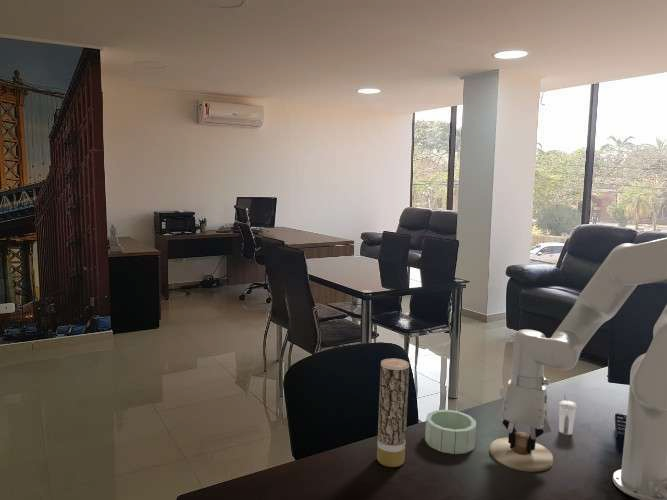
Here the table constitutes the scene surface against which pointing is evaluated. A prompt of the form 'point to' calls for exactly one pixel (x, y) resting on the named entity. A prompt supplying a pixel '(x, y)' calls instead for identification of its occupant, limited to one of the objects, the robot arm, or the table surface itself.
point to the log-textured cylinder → (392, 412)
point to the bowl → (450, 431)
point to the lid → (521, 454)
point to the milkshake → (566, 416)
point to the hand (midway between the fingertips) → (521, 448)
